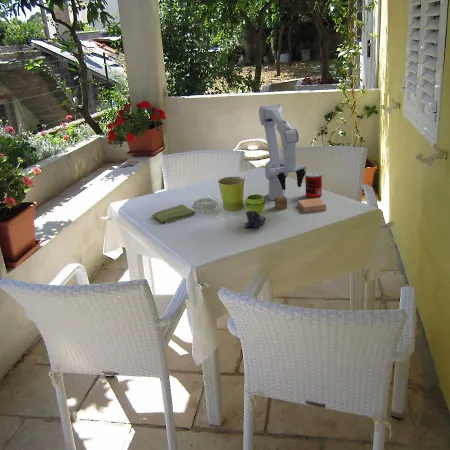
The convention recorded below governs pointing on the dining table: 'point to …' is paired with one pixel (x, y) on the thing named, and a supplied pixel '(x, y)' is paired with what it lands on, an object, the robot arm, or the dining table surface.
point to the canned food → (313, 184)
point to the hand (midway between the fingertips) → (291, 188)
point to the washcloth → (173, 214)
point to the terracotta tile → (311, 205)
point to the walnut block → (280, 202)
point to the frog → (254, 219)
